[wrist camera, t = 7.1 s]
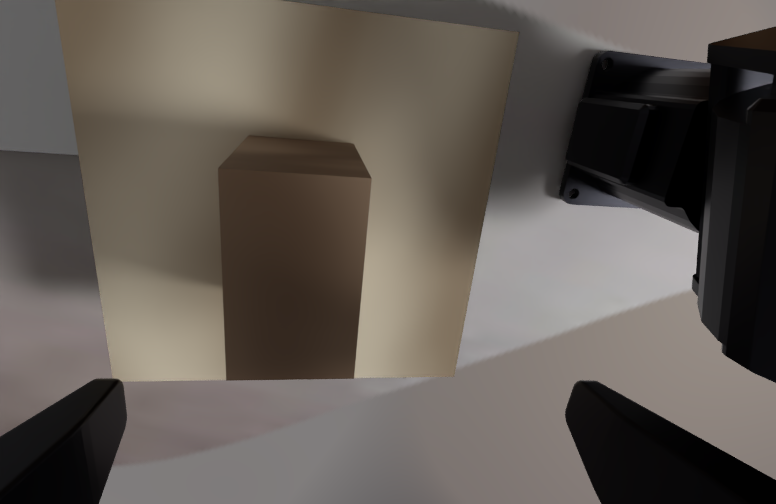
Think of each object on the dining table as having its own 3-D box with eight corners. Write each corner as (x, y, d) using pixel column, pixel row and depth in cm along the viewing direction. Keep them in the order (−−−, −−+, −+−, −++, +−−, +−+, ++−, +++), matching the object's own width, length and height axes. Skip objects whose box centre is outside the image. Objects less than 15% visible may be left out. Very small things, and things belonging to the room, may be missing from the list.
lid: (505, 34, 14) (616, 16, 9) (446, 360, 18) (498, 474, 13) (70, -23, 12) (-117, -93, 6) (124, 363, 16) (37, 500, 11)
